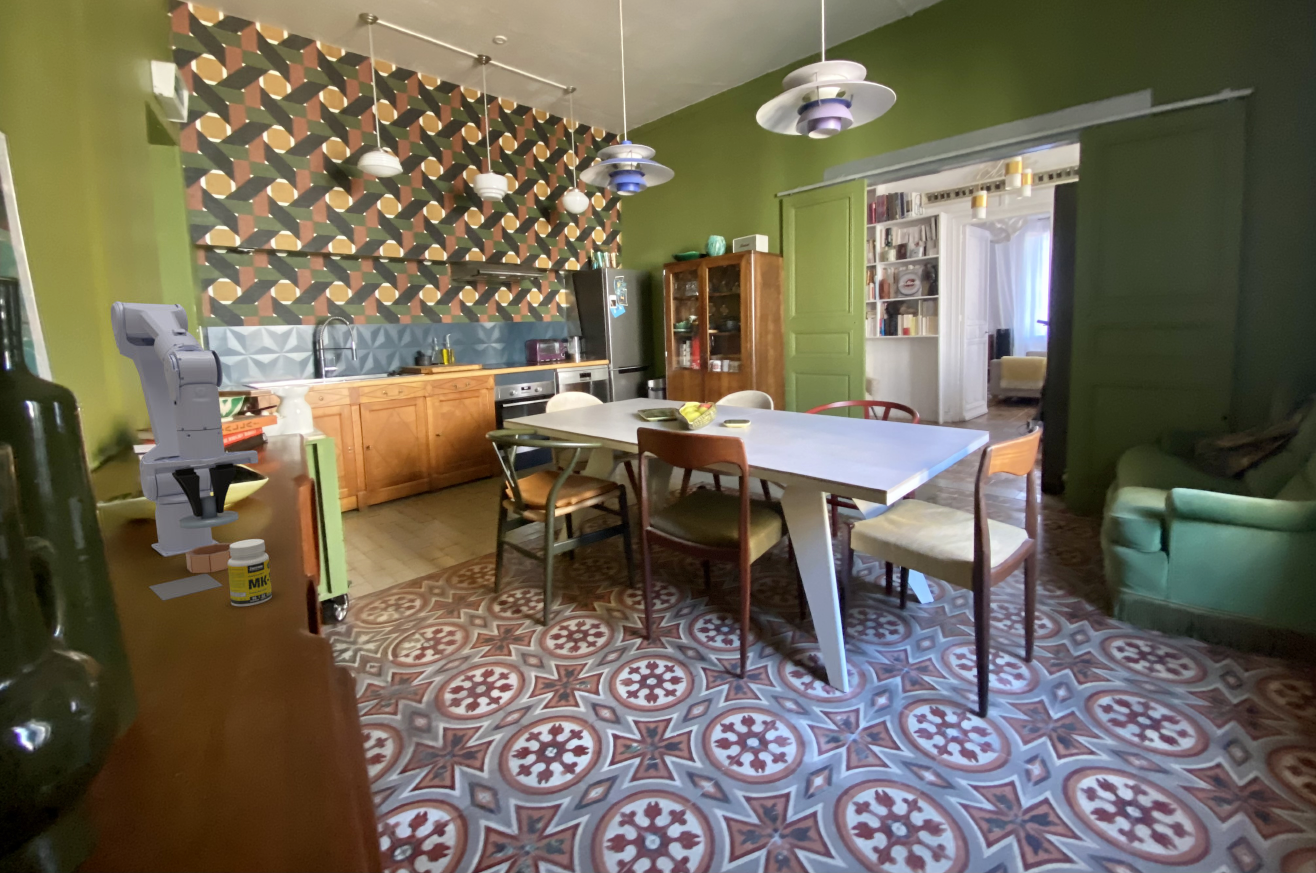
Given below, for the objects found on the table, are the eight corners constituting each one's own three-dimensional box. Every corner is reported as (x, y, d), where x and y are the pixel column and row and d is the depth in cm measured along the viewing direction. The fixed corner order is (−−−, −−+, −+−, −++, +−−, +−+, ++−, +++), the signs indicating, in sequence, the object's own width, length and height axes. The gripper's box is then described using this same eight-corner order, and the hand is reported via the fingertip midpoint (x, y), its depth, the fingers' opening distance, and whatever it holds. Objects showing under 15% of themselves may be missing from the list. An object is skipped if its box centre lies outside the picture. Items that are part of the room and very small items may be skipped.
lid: (174, 522, 98) (172, 497, 97) (231, 513, 103) (229, 489, 103) (185, 531, 93) (182, 505, 92) (244, 521, 98) (242, 496, 98)
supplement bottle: (252, 610, 83) (246, 549, 82) (222, 607, 84) (216, 547, 82) (280, 596, 87) (275, 538, 86) (252, 593, 88) (246, 536, 87)
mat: (149, 589, 90) (148, 586, 90) (206, 575, 96) (206, 573, 95) (163, 603, 85) (163, 600, 85) (223, 588, 90) (222, 585, 90)
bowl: (184, 568, 99) (181, 550, 98) (232, 557, 104) (230, 540, 103) (196, 577, 95) (193, 558, 94) (245, 566, 100) (243, 548, 99)
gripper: (146, 435, 88) (157, 528, 90) (261, 426, 99) (269, 508, 101) (135, 431, 93) (146, 519, 94) (246, 423, 104) (254, 502, 105)
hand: (208, 513), depth 98 cm, fingers closed on lid, 2 cm apart
